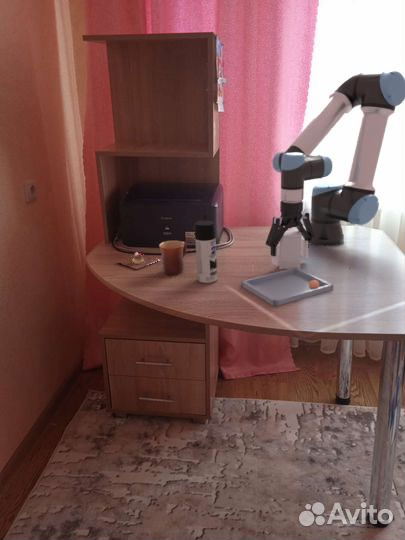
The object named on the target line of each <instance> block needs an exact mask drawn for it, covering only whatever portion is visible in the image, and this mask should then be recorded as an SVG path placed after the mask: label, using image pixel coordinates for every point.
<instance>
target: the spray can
mask: <svg viewBox="0 0 405 540" xmlns="http://www.w3.org/2000/svg"><path fill="white" fill-rule="evenodd" d="M216 237H217V236H216V224H215V222H214V221H212V220H199V221H196V222H195V223H194V238H195V239H194V240H195V256H196V259H195V260H196V275H197V281H198V282H199V283H201V284H212V283H216V281H217V280H218V269H217V268H218V264H217V263H218V262H217V260H218V259H217V243H216V242H217V240H216Z"/></svg>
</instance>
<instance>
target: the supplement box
mask: <svg viewBox="0 0 405 540" xmlns="http://www.w3.org/2000/svg"><path fill="white" fill-rule="evenodd" d="M302 237H303V236H302V233H301V231H299V230H287V231H286V232H285V233H284V235H283V237H282V238H281V240H280V242H279V260H278V269H279V270H287V269H291V268H295V267H297V268H299V269H301V263H302V262H301V259H302V258H301V242H302V239H303V238H302Z"/></svg>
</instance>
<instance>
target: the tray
mask: <svg viewBox="0 0 405 540" xmlns="http://www.w3.org/2000/svg"><path fill="white" fill-rule="evenodd" d="M312 280H316V281H318V282H319V287H318V288H314V289H310V288H309V282H310V281H312ZM240 282H241V283H240V285H241V287H242V288H244V289H245V290H247V291H249V292H250V293H252V294H254V295H255V296H256V297H258V298H260V299H262V300H263V301H264V302H267V303H268V304H269V305H270V306H272V307H278V306H282V305H284V304H288V303H292V302H296V301H298V300H302V299H306V298H310V297H312V296H316V295H319V294H320V295H321V294H323V293H327V292H330V291H333V290H334V284H333V283H330V282H328V281H326V280H324V279H322V278H320V277H318V276H316V275H314V274H311V273H309V272H307V271H305V270H303V269H301V268H300V269H299V268H297V267H295V268H291V269H282V270H281V271H276V272H273V273H269V274H263V275H260V276H256V277H253V278H249V279H245V280H241V281H240Z"/></svg>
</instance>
